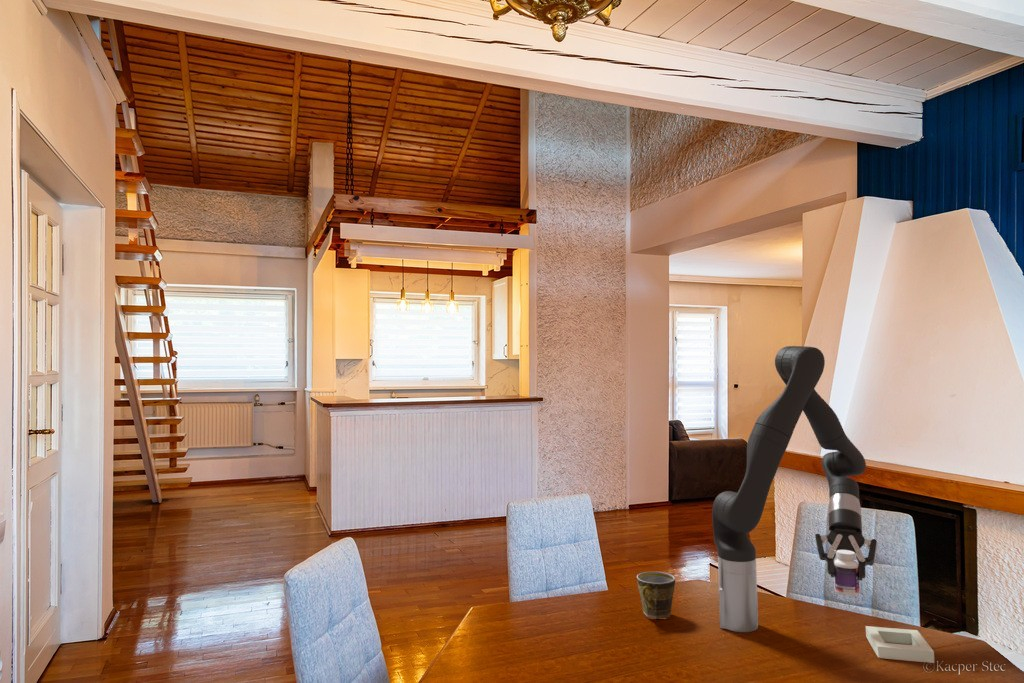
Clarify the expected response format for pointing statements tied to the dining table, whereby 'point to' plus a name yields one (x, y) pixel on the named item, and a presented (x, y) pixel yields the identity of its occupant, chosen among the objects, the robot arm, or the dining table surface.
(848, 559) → the pill bottle
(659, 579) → the ceramic cup
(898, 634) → the socket board
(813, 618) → the dining table surface
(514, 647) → the dining table surface
